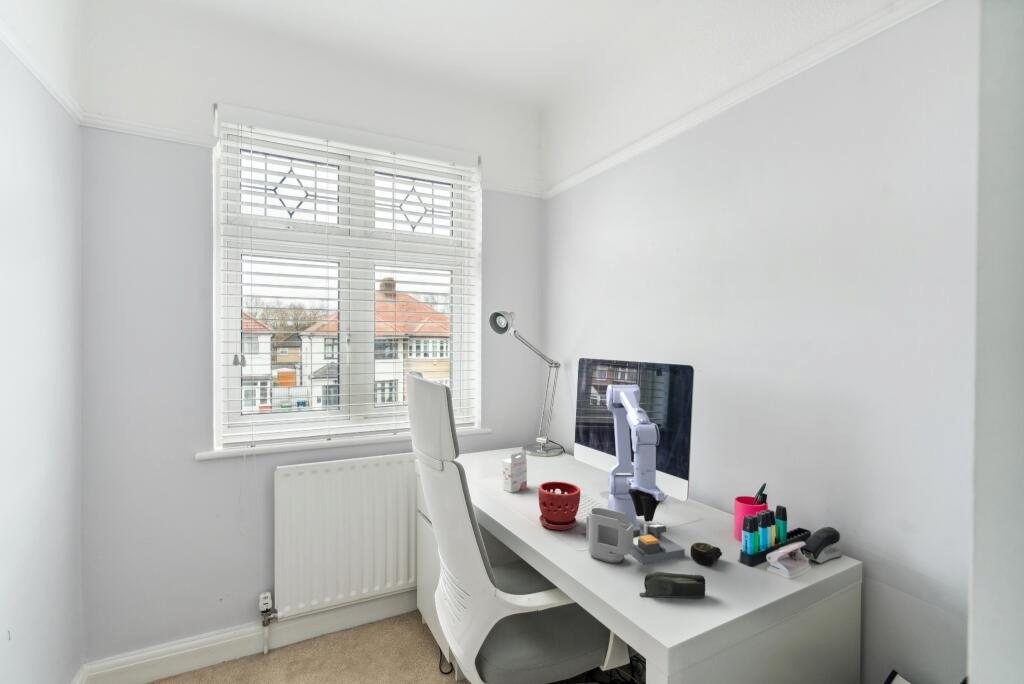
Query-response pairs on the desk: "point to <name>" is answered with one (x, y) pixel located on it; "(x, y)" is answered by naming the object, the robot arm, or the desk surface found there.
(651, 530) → the on rocker
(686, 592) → the dark elongated piece
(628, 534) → the grey piece
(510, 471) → the ink cartridge box
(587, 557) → the desk surface
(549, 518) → the plant pot
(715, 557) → the tape measure
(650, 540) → the block
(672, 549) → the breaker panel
